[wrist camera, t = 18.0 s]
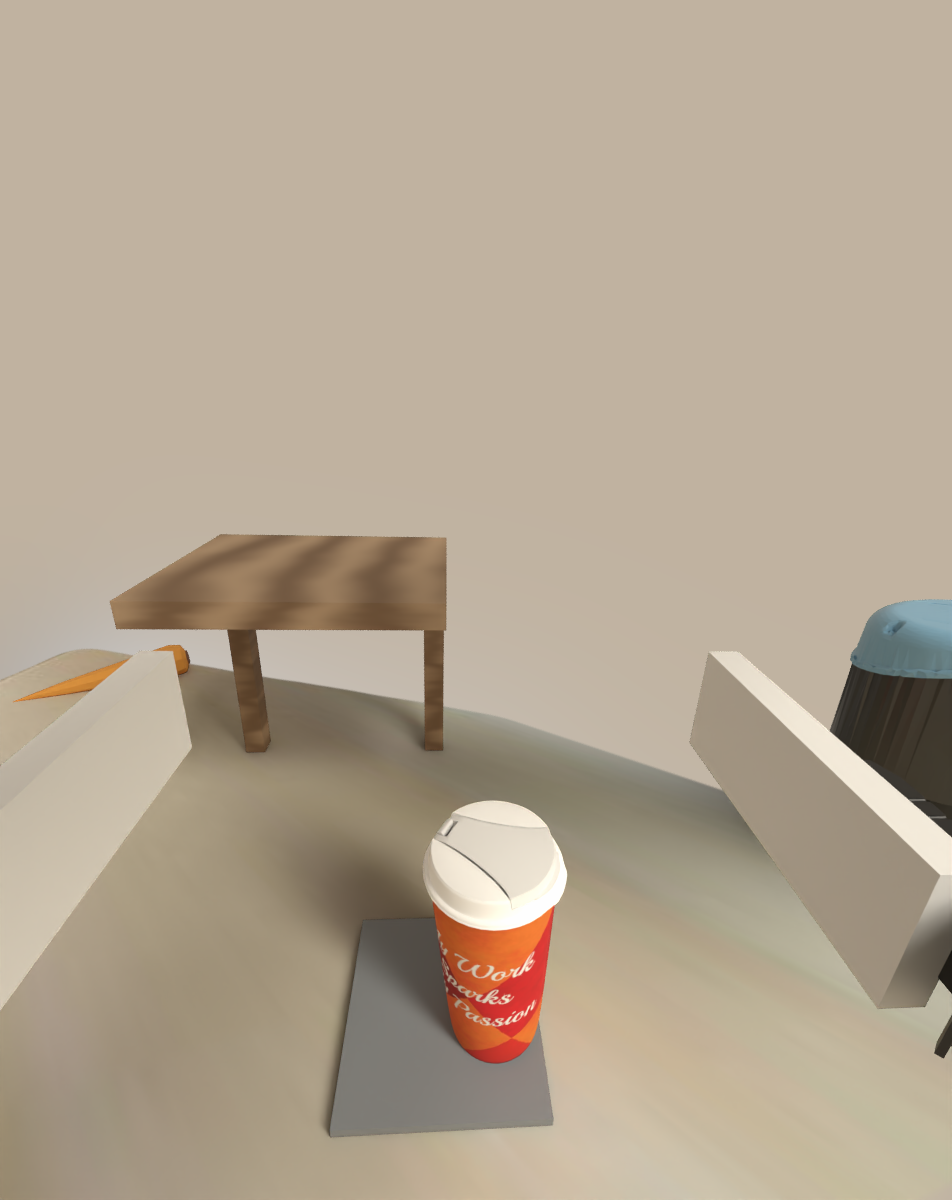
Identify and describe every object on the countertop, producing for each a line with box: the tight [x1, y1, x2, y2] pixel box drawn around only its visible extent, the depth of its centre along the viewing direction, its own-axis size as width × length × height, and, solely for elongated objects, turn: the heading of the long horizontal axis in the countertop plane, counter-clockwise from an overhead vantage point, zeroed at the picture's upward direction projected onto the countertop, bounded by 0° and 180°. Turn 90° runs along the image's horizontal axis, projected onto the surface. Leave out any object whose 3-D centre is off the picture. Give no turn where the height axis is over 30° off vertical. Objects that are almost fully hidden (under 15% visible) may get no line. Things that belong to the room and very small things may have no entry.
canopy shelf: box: [110, 534, 446, 752], centre depth 47 cm, size 22×18×24 cm
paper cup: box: [423, 801, 567, 1064], centre depth 30 cm, size 8×8×14 cm
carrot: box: [13, 645, 190, 702], centre depth 69 cm, size 20×4×4 cm, turn 118°
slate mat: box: [330, 918, 553, 1137], centre depth 34 cm, size 12×12×1 cm
